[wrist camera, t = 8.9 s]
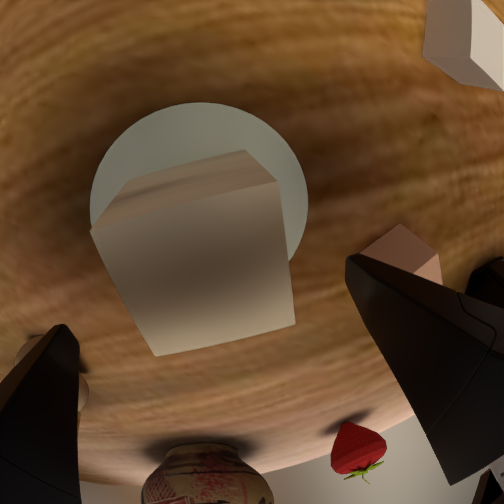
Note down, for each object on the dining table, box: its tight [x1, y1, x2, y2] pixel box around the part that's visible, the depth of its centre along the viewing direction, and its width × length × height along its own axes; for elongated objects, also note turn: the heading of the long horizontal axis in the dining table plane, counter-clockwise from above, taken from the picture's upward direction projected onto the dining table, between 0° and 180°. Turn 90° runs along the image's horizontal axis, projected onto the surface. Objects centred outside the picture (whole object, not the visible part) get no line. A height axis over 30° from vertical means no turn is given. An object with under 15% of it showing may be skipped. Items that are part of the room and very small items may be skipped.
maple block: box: [90, 149, 295, 357], centre depth 11 cm, size 6×6×6 cm
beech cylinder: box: [15, 335, 89, 412], centre depth 15 cm, size 4×4×4 cm
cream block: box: [422, 0, 504, 92], centre depth 9 cm, size 5×4×4 cm
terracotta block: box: [360, 223, 443, 285], centre depth 16 cm, size 4×4×4 cm
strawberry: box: [331, 422, 387, 484], centre depth 27 cm, size 6×8×10 cm
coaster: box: [90, 102, 308, 261], centre depth 14 cm, size 11×11×1 cm
